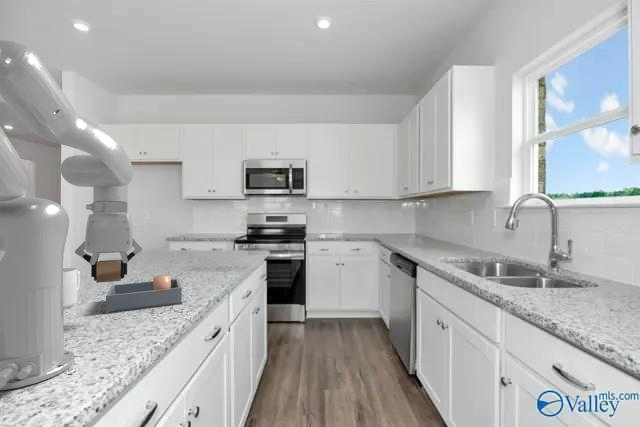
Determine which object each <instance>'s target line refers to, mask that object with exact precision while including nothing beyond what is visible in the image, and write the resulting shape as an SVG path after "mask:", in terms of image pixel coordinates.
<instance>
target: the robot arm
mask: <svg viewBox="0 0 640 427" xmlns="http://www.w3.org/2000/svg"><path fill="white" fill-rule="evenodd" d="M0 97H1V98H2V99H3V101H5V102H6V103H7V104H8V106H10V108H11V109H12V110H13V111H14V113H15V114H17V115H18V118H20V119H21V121H23V122H24V124H25V125H26V126H27V128H29V130H30V131H31V132H32V133H33V134H35V135H36V136H38V137H40V138H42V139H45V140H48V141H50V142H53V143H56V144H59V145H63V146H67V147H69V148H73V149H77V150H80V151H82V152H85V153H87V154H76V155H70V156H69V157H66V158H64V159H63V160H62V162H61V165H60V167H59V168H60V169H59V170H60V174H61V176H62V178H63V179H64V181H65V182H67V183H69V184H71V185H72V186H75V187H81V188H82V187H83V188H84V187H85V188H87V187H89V188H91V187H92V188H93V189H92V190H93V197H92V198H93V199H92V203H89V204H86V205H85V209H86V210H89V211H92V213H90V214H88V217H87V220H86V222H87V223H86V228H85V237H84V238H85V239H84V241H83V242H82V243H81V244H80V245H79V246H78V248H76V249H75V250H74V254H75V255H77V256H79V257H80V258H82V259H83V260H85V261H86V262H87V263H89V265H91V269H90V270H91V271H90V272H91V273H90V276H91V277H90V278H93V281H94V282H96V273H97V262H99V258H100V255H101V254H110V253H111V254H112V253H119V254H120V257H121V260H122V261H121V271H120V278H121V280H122V279H124V278H125V276H126V275H128V262H130V261H131V259H132V258H134V257H135V256H136V255H138V254H139V253H141V252H142V250H143V247H142V246H140V244H139V243H138V242H137V241H136V240H135V239H134V237H133V236H134V235H133V234H134V233H133V232H134V231H133V220H132V216H131V214H128V203H129V202H128V196H129V195H128V189H129V188H128V185H129V184H130V183H131V182H132V180H133V177H134V168H133V165H132V161H131V159H130V157H129V156H128V154H127V152H126V151H125V149H124V147H123V146H122V144H121V142H119V140H118V139H117V138H116V137H114V136H113V135H112V134H110V133H109V132H108V131H106V130H105V129H103V128H101V127H100V126H99V125H97V124H95V123H94V122H92V121H91V120H88V119H87V118H85V117H83V116H81V115H80V114H79V113H78V112H77V111H76V110H75V108H74V106H73V104H71V102H70V100H69V99H68V97H67V96H66V95H65V93H64V92H63V90H62V88H61V87H60V86H59V84H58V83H57V81H56V80H55V78H54V77H53V75H52V74H51V72H50V71H49V69H48V68H47V67H46V65H45V64H44V62H43V61H42V59H41V58H40V56H39V55H38V54H37V53H36V52H35V51H34V50H33V49H32V48H30V47H29V46H26V45H24V44H22V43H19V42H16V41H13V40H12V41H11V40H4V39H0ZM31 183H32V180H31V175H30V173H29V171H28V169H27V167H26V165H25V163H24V162H23V160H22V159H21V157H20V154H18V152H17V150H16V149H15V147H14V146H13V144H12V142H11V141H10V139H9V138H8V136H7V134H6V132H5V131H4V129H3V128H2V127H1V125H0V252H4V254H3V256H2V257H1V259H0V391H7V390H12V389H14V390H15V389H18V388H23V387H26V386H27V387H28V386H31V385H34V384H37V383H41V382H42V381H46V380H48V379H51V378H53V377H55V376H57V375H59V374H61V373H63V372H65V371H66V370H68V369H69V368H70V367H71V366H72V365H74V362H75V354H74V352H72V351H69V350H65V333H64V331H65V327H64V326H65V323H64V322H65V321H64V318H65V317H64V316H65V315H64V309H63V268H64V254H65V253H64V252H65V248H66V242H67V238H68V233H69V228H70V218H69V214H68V212H67V210H66V209H65V208H64V207H63V205H61V204H60V203H58V202H56V201H54V200H51V199H48V198H42V197H32V196H31V197H29V196H26V197H25V196H24V195H25V194H27V193H28V192H29V189H30V187H31ZM22 196H23V197H22ZM133 248H134V249H133ZM132 249H133V250H132ZM131 250H132V251H131ZM129 251H131V252H130V253H127V252H129ZM90 254H91V255H90Z"/></svg>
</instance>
